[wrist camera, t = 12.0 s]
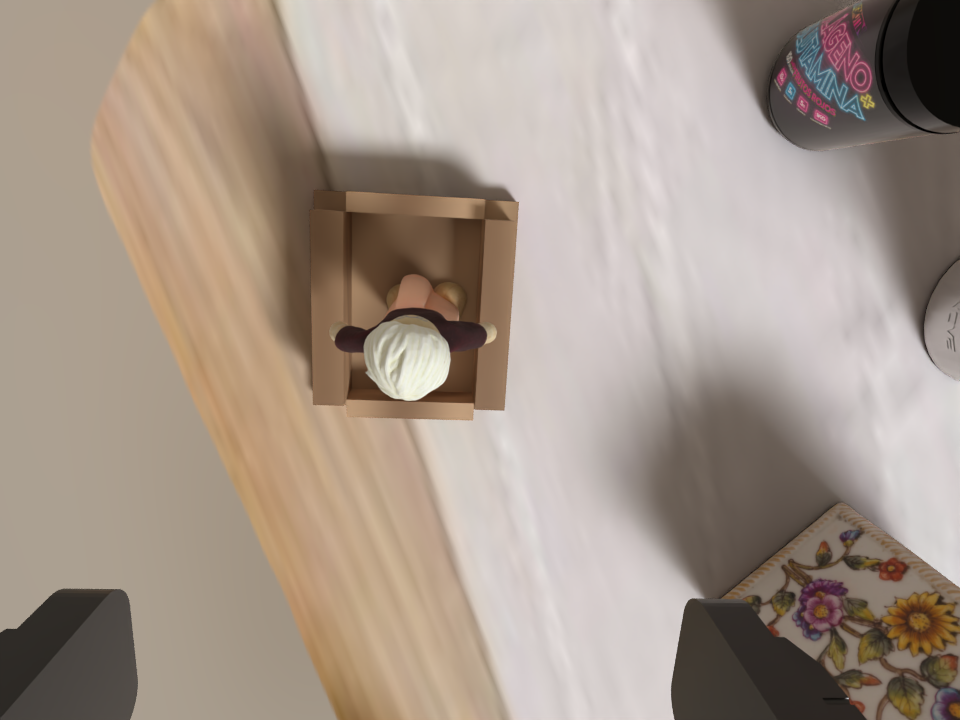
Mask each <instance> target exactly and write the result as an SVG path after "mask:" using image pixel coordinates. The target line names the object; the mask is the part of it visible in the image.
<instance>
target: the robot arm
mask: <svg viewBox="0 0 960 720" xmlns="http://www.w3.org/2000/svg"><path fill="white" fill-rule="evenodd" d="M924 335H925V343H926V346H927V349H928V353H929V355H930V356H931V358H932V360H933V361H934V363H935V365H936V366H937V367H938V368H939V369H940V370H941V371H942V372H944V373H945V374H946V375H948V376H950V377H952V378H953V379H955V380H958V381H960V259H959V260H958V261H957V262H956V263H955V264H953V265H952V266H951V267H950V268H949V270H948V271H947V272H946V273H945V275H944V276H943V277H942V278H941V279H940V281H939V283H938V285H937V286H936V288H935V290H934V292H933V293H932V295H931V298H930V301H929V304H928V307H927V309H926V315H925V322H924ZM137 687H138V679H137V669H136V659H135V650H134V640H133V631H132V622H131V612H130V604H129V599H128V596H127V594H126V593H125V592H124V591H123V590H120V589H61V590H58V591H56V592H55V593H53V594H52V595H51V596H50V597H49V598H48V599H47V600H46V601H45V602H44V603H43V604H42V605H41V606H40V607H39V608H38V609H37V610H36V611H35V612H34V613H33V614H32V615H31V616H30V617H29V618H27V619H26V620H25V622H23V624H21V626H19V627H18V628H17V629H6V630H4V631H3V632H1V633H0V720H130V718H131V716H132V713H133V709H134V705H135V701H136V696H137ZM671 700H672V708H673V714H674V719H675V720H867V719H866V718H865V717H864V715H863V714H862V713H861V712H860V711H859V709H858V708H857V707H856V706H855V705H851V704H850V702H849V697H848V696H847V695H846V694H845V692H844V691H843V690H842V689H841V688H840V686H839V685H838V684H837V683H836V682H835V680H834V679H833V678H832V677H831V676H830V674H829V673H828V672H827V671H826V670H825V668H824V667H823V666H822V665H821V664H820V663H819V662H817V661H816V660H815V659H813V658H812V657H811V656H809V655H808V654H807V653H805V652H804V651H803V650H801V649H800V648H799V647H797V646H796V645H795V644H793V643H792V642H791V641H789V640H788V639H787V638H785V637H774V635H773V634H772V633H771V632H770V630H769V629H768V628H767V626H766V625H765V624H764V623H763V621H762V620H761V619H760V617H759V616H758V615H757V613H756V612H755V611H754V610H753V608H752V607H751V606H750V605H749V604H748V603H747V602H746V601H744V600H742V599H694V598H692V599H690V600H689V601H688V602H687V604H686V606H685V609H684V614H683V619H682V625H681V631H680V637H679V643H678V649H677V654H676V660H675V666H674V672H673V678H672V685H671Z"/></svg>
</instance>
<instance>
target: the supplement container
mask: <svg viewBox="0 0 960 720" xmlns="http://www.w3.org/2000/svg"><path fill="white" fill-rule="evenodd" d="M767 105H768V110H769V114H770V117H771V119H772V122H773V124H774V125H775V127H776V129H777V130H778V132H779V133H780V134H781V135H782V136H783V137H784V138H785V139H786V140H788V141H789V142H790V143H792V144H794V145H796V146H797V147H800V148H802V149H806V150H810V151H826V150H833V149H840V148H847V147H853V146H860V145H867V144H874V143H880V142H887V141H894V140H901V139H907V138H914V137H921V136H928V135H943V134H952V133H957V132H960V0H860V1H858V2H856V3H854V4H852V5H850V6H848V7H846V8H844V9H842V10H840V11H838V12H836V13H834V14H832V15H830V16H828V17H826V18H823V19H821V20H819V21H817V22H815V23H813V24H811V25H809V26H807V27H806V28H804V29H803V30H801V31H800V32H798V33H797V34H796V35H795V36H794V37H793V38H791V39H790V40H789V42H788V43H787V44H786V45H785V46H784V48H783V49H782V51H781V52H780V54H779V55H778V57H777V59H776V61H775V63H774V65H773V67H772V70H771V73H770V76H769V80H768V86H767Z"/></svg>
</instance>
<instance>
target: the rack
mask: <svg viewBox="0 0 960 720" xmlns="http://www.w3.org/2000/svg"><path fill="white" fill-rule="evenodd" d="M518 206H519V202H511V201H494V200H485V199H472V198H455V197H438V196H421V195H404V194H387V193H370V192H353V191H346V192H341V191H324V190H314V210H310V263H311V320H312V377H313V405H336V406H344V405H347V417H368V418H405V419H441V420H473V410H474V409H475V410H504V408H505V393H506V379H507V365H508V350H509V336H510V322H511V307H512V293H513V279H514V264H515V250H516V236H517V220H518ZM411 274H417V275H420V276H423V277H424V278H426V279H427V280H428V281H429V282H430V284H431V286H432V288H433V290H434V289H435V287H437V286H438V285H439V284H441V283H444V282H452V283H456V284H458V285H460V286H461V287H462V288H463V289H464V290H465V292H466V295H467V302H466V305H465V308H464V310H463V312H462V315H461V317H460V319H459V321H465V322H473V323H477V324H478V323H483V322H489V323H491V324H493V325H494V326H495V328H496V331H497V335H496V338H495V339H494V340H493V341H492V342H490V343H486V344H485V345H483V346H482V347H480V348H476V349H471V350H467V351H462V352H455V351H453V352H451V353H450V359H451V361H450V366H449V372H448V375H447V378H446V380H445V381H444V383H443V384H442V385H440V386H439V387H438V388H436V389H434V390H433V391H431V392H429V393H427V394H426V395H425V396H424V397H422V398H420V399H418V400H415V401H406V400H403V399H395V398H392V397H390V396H389V395H387V394H385V393H384V392H383V391H381V390H380V388H379V387H378V385H377V384H376V382H375V381H373V380H372V379H371V378H370V377H369V376H368V375H367V374H366V372H367V371H368V368H367V366H366V363H365V359H364V353H348V352H344V351H341V350H339V349H338V348H337V347H336V346H335V341H333V340H332V339H331V337H330V334H329V330H330V327H331V325H332V324H334V323H336V322H339V321H341V322H345V323H347V324H348V325H350V326H355V327H359V328H363V329H365V330H368V329H370V328H372V327H374V326H376V325H377V324H379V323H380V322H381V321H382V320H383V319H384V317H385V315H386V313H387V311H388V310H389V309H388V305H387V300H386V299H387V294H388V292H389V290H390V289H391V288H392V287H394V286H395V285H398V284H401V281H402V279H403V277H404V276H406V275H411Z"/></svg>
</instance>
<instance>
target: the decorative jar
mask: <svg viewBox="0 0 960 720" xmlns="http://www.w3.org/2000/svg"><path fill="white" fill-rule="evenodd" d="M721 599H742V600H744V601H746V602H747V603H748V604H749V605H750V606H751V607H752V608H753V610H754V611H755V612H756V613H757V615H758V616H759V617H760V619H761V620H762V621H763V623H764V624H765V625H766V626H767V628H768V629H769V630H770V632H771V633H772V634H773V635H774V637H785V638H787V639H788V640H789V641H791V642H792V643H793V644H795V645H796V646H797V647H799V648H800V649H801V650H803V651H804V652H805V653H807V654H808V655H809V656H811V657H812V658H813V659H815V660H816V661H817V662H819V663H820V664H821V665H822V666H823V667H824V668H825V670H826V671H827V672H828V673H829V674H830V676H831V677H832V678H833V679H834V680H835V682H836V683H837V684H838V685H839V686H840V688H841V689H842V690H843V691H844V692H845V694H846V695H847V696H848V697H849V702H850V704H851V705H855V706H856V707H857V708H858V709H859V711H860V712H861V713H862V714H863V715H864V717H865V718H866V719H867V720H960V588H959V587H958V586H956V585H955V584H954V583H952V582H951V581H950V580H948V579H947V578H946V577H944V576H943V575H942V574H941V573H939V572H938V571H937V570H935V569H934V568H933V567H931V566H930V565H929V564H927V563H926V562H925V561H923V560H922V559H921V558H919V557H918V556H917V555H915V554H914V553H913V552H911V551H910V550H909V549H907V548H906V547H905V546H903V545H902V544H901V543H899V542H898V541H896V540H895V539H894V538H892V537H891V536H889V535H888V534H887V533H885V532H884V531H883V530H881V529H880V528H878V527H877V526H875V525H874V524H872V523H871V522H870V521H868V520H867V519H865V518H864V517H862V516H861V515H860V514H858V513H857V512H856V511H854V509H852V508H851V507H850V506H848V505H847V504H845V503H838V504H836V505H835V506H833V507H832V508H831V509H829V510H828V511H827V512H825V513H824V514H823V515H822V516H821V517H820V518H819V519H818V520H817V521H815V522H814V523H813V524H812V525H810V526H809V527H808V528H807V529H805V530H804V531H803V532H802V533H800V534H799V535H798V536H797V537H796V538H795V539H793V540H792V541H791V542H789V543H788V544H787V545H786V546H785V547H784V548H782V549H781V550H780V551H778V552H777V553H776V554H775V555H774V556H772V557H771V558H770V559H769V560H767V561H766V562H765V563H764V564H762V565H761V566H760V567H759V568H758V569H756V570H755V571H754V572H753V573H752V574H750V575H749V576H748V577H747V578H745V579H744V580H743V581H742V582H741V583H740V584H738V585H737V586H736V587H735V588H733V589H732V590H731V591H730V592H728V593H727V594H726V595H725V596H723V597H722V598H721Z"/></svg>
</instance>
